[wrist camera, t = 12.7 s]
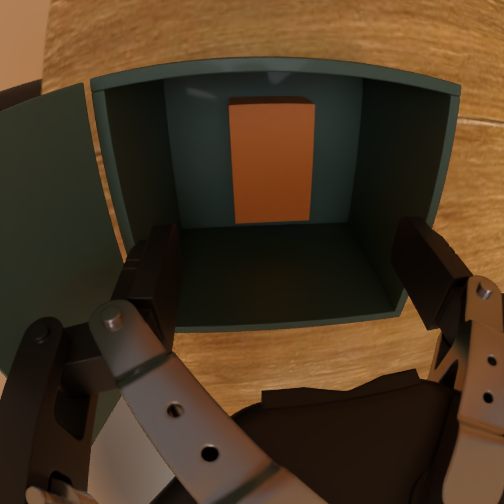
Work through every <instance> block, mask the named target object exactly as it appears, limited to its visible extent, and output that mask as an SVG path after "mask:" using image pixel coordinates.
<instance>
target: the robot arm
mask: <svg viewBox="0 0 504 504" xmlns="http://www.w3.org/2000/svg"><path fill="white" fill-rule="evenodd" d="M390 260H391V265H392V267H393V269H394V270H395V272H396V274H397V276H398V277H399V279H400V281H401V283H402V284H403V286H404V288H405V290H406V291H407V293H408V295H409V297H410V299H411V300H412V302H413V304H414V306H415V308H416V310H417V311H418V313H419V315H420V317H421V319H422V321H423V323H424V325H425V327H426V329H427V331H428V330H433V329H438V328H440V329H441V333H440V335H439V336H438V339H437V343H436V348H435V352H434V356H433V360H432V364H431V368H430V372H429V375H428V378H427V380H425V379H420V378H419V376H418V373H417V371H416V369H410V370H406V371H401V372H397V373H392V374H387V375H382V376H380V377H378V378H376V379H374V380H372V381H370V382H368V383H365V384H363V385H361V386H359V387H356V388H354V389H352V390H349V391H337V390H326V389H316V388H306V387H301V388H291V389H279V390H266V391H262V398H261V402H259V403H256V404H253V405H250V406H248V407H246V408H243V409H242V410H240V411H238V412H236V413H234V414H233V415H232V416H229V415H228V414H227V413H226V412H225V411H224V410H223V409H222V408H221V407H220V405H219V404H218V403H217V402H216V401H215V400H214V399H213V398H212V396H211V395H210V394H209V393H208V392H207V391H206V390H205V388H204V387H203V386H202V385H201V384H200V383H199V381H198V380H197V379H196V378H195V377H194V376H193V374H192V373H191V372H190V371H189V370H188V368H187V367H186V366H185V365H184V363H183V362H182V361H181V360H180V359H179V357H178V356H177V355H176V354H175V353H174V352H172V347H173V340H174V333H175V326H176V319H177V313H178V306H179V300H180V294H181V288H182V282H183V272H184V270H183V259H182V254H181V249H180V243H179V238H178V232H177V227H176V225H175V224H161V225H153V227H152V229H151V232H150V234H149V237H148V240H139V241H138V242H137V243H136V244H135V245H134V246H133V247H132V248H131V249H130V251H129V253H128V256H127V258H126V262H125V263H124V266H123V268H122V271H121V273H120V275H119V278H118V281H117V283H116V286H115V288H114V291H113V294H112V296H111V299H110V301H107V302H105V303H103V304H101V305H100V306H98V307H97V308H96V309H95V310H94V311H93V313H92V314H91V316H90V318H89V321H88V322H85V323H82V324H78V325H74V326H70V327H66V328H64V327H63V325H62V323H61V322H60V320H58V319H57V318H55V317H50V316H48V317H42V318H40V319H38V320H36V321H34V322H33V323H32V324H31V325H30V326H29V327H28V328H27V329H26V331H25V333H24V335H23V337H22V340H21V342H20V345H19V347H18V350H17V352H16V355H15V358H14V360H13V363H12V366H11V369H10V371H9V374H8V377H7V380H6V383H5V386H4V390H3V393H2V396H1V399H0V504H98V502H97V501H96V500H95V499H94V497H92V496H91V495H90V494H88V493H87V486H88V473H89V463H90V453H91V444H92V436H93V428H94V421H95V414H96V408H97V402H98V396H99V393H100V392H105V391H109V390H114V389H119V391H120V393H121V395H122V396H123V398H124V400H125V401H126V403H127V405H128V407H129V408H130V410H131V412H132V413H133V415H134V416H135V418H136V420H137V421H138V423H139V424H140V426H141V427H142V429H143V431H144V432H145V433H146V435H147V437H148V438H149V440H150V441H151V443H152V444H153V446H154V447H155V448H156V450H157V451H158V452H159V454H160V456H161V457H162V458H163V460H164V461H165V462H166V464H167V465H168V466H169V468H170V469H171V470H172V472H173V473H174V474H175V477H174V478H173V479H172V480H171V481H170V482H169V483H168V484H167V486H166V487H165V488H164V489H163V490H162V491H161V492H160V493H159V494H158V495H157V496H156V497H155V498H154V499H153V500H152V501H151V502H150V504H504V293H501V291H500V289H499V288H498V286H497V285H496V284H495V283H494V282H493V281H491V280H490V279H488V278H486V277H483V276H480V275H474V276H473V274H472V273H471V272H470V270H469V269H468V268H467V266H466V265H465V264H464V263H463V261H462V260H461V259H460V258H459V256H458V255H457V254H455V251H454V250H453V249H452V248H451V247H449V244H448V243H447V242H446V241H445V239H444V238H443V237H442V236H441V235H439V234H438V233H437V232H435V231H434V230H432V229H431V227H430V226H429V225H428V224H427V223H426V222H425V221H424V220H423V218H422V217H420V216H402V217H401V218H400V219H399V222H398V225H397V229H396V233H395V237H394V241H393V245H392V248H391V253H390Z"/></svg>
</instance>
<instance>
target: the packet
mask: <svg viewBox="0 0 504 504" xmlns="http://www.w3.org/2000/svg"><path fill="white" fill-rule="evenodd" d="M228 109H229V127H230V145H231V162H232V178H233V194H234V209H235V223H236V224H240V223H259V222H280V221H303V220H309V215H310V201H311V186H312V169H313V150H314V126H315V104H314V103H313V102H311V101H310V100H308V99H307V98H305V97H304V96H249V97H230V98H229V104H228Z"/></svg>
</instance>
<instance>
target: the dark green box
mask: <svg viewBox="0 0 504 504" xmlns="http://www.w3.org/2000/svg"><path fill="white" fill-rule="evenodd" d="M90 85H91V91H92V92H93V93H92V100H93V107H94V113H95V120H96V126H97V132H98V137H99V143H100V148H101V153H102V158H103V163H104V168H105V172H106V177H107V181H108V186H109V190H110V194H111V198H112V202H113V206H114V210H115V214H116V218H117V222H118V226H119V229H120V233H121V236H122V240H123V243H124V247H125V250H126V254H127V256H128V253H129V251H130V249H131V248H132V247H133V246H134V245H135V244H136V243H137V242H138V241H139V240H148V237H149V234H150V232H151V229H152V227H153V225H161V224H175V225H176V227H177V232H178V238H179V243H180V249H181V254H182V259H183V270H184V272H183V282H182V288H181V294H180V300H179V306H178V313H177V319H176V326H175V333H211V332H239V331H259V330H276V329H290V328H303V327H314V326H325V325H335V324H345V323H354V322H363V321H371V320H379V319H386V318H393V317H399V316H400V315H401V312H402V310H403V308H404V305H405V303H406V300H407V298H408V293H407V291H406V290H405V288H404V286H403V284H402V283H401V281H400V279H399V277H398V276H397V274H396V272H395V270H394V269H393V267H392V265H391V260H390V253H391V248H392V245H393V241H394V237H395V233H396V229H397V225H398V222H399V219H400V218H401V217H402V216H420V217H422V218H423V220H424V221H425V222H426V223H427V224H428V225H429V226H430V227H431V229H432V227H433V224H434V220H435V217H436V214H437V210H438V206H439V203H440V199H441V195H442V191H443V187H444V183H445V179H446V175H447V170H448V166H449V161H450V156H451V152H452V146H453V141H454V135H455V130H456V123H457V117H458V110H459V102H460V93H461V85H459V84H456V83H453V82H449V81H446V80H442V79H438V78H435V77H431V76H427V75H422V74H418V73H414V72H409V71H404V70H400V69H394V68H389V67H384V66H378V65H371V64H365V63H358V62H350V61H341V60H331V59H319V58H303V57H268V56H262V57H227V58H211V59H199V60H189V61H180V62H172V63H165V64H158V65H152V66H146V67H140V68H135V69H130V70H125V71H120V72H116V73H111V74H107V75H103V76H99V77H95V78H91V79H90ZM249 96H304V97H305V98H307V99H308V100H310V101H311V102H313V103H314V104H315V126H314V150H313V169H312V186H311V201H310V215H309V220H303V221H280V222H259V223H240V224H236V223H235V209H234V194H233V178H232V162H231V145H230V127H229V109H228V104H229V98H230V97H249Z"/></svg>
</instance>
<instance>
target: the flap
mask: <svg viewBox="0 0 504 504" xmlns="http://www.w3.org/2000/svg"><path fill="white" fill-rule="evenodd" d="M123 266H124V263H123V259H122V256H121V253H120V250H119V247H118V243H117V240H116V236H115V233H114V230H113V226H112V222H111V219H110V215H109V211H108V208H107V204H106V200H105V196H104V192H103V188H102V184H101V179H100V175H99V170H98V166H97V161H96V156H95V152H94V147H93V141H92V136H91V131H90V125H89V119H88V113H87V106H86V99H85V92H84V84H83V83H78V84H75V85H71V86H68V87H65V88H62V89H58V90H55V91H52V92H49V93H46V94H44V95H41V96H38V97H35V98H32V99H30V100H27V101H25V102H22V103H19V104H17V105H15V106H12V107H10V108H7V109H5V110H3V111H0V371H1V372H2V373H3V374H4V376H5V377H6V378H7V377H8V374H9V371H10V369H11V366H12V363H13V360H14V358H15V355H16V352H17V350H18V347H19V345H20V342H21V340H22V337H23V335H24V333H25V331H26V329H27V328H28V327H29V326H30V325H31V324H32V323H33V322H34V321H36V320H38V319H40V318H42V317H48V316H50V317H55V318H57V319H58V320H60V322H61V323H62V325H63V327H64V328H66V327H70V326H74V325H78V324H82V323H85V322H88V321H89V318H90V316H91V314H92V313H93V311H94V310H95V309H96V308H97V307H98V306H100V305H101V304H103V303H105V302H107V301H110V299H111V296H112V294H113V291H114V288H115V286H116V283H117V281H118V278H119V275H120V273H121V271H122V268H123ZM121 396H122V395H121V393H120V391H119V389H114V390H109V391H105V392H100V393H99V396H98V402H97V408H96V414H95V421H94V428H93V436H92V444H91V446H92V445H93V443H94V441H95V439H96V437H97V436H98V434H99V432H100V431H101V429H102V428H103V426H104V424H105V422H106V421H107V419H108V417H109V416H110V414H111V412H112V411H113V409H114V407H115V406H116V404H117V402H118V401H119V399H120V397H121Z"/></svg>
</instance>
